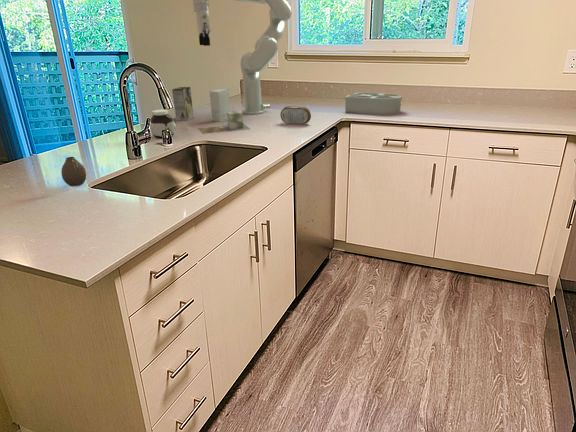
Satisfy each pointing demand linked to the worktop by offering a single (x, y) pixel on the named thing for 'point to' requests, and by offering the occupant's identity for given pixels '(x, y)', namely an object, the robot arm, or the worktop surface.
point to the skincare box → (219, 104)
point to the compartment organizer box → (373, 103)
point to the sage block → (235, 119)
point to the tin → (295, 115)
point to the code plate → (235, 129)
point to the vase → (73, 172)
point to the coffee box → (183, 103)
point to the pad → (210, 130)
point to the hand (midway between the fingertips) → (204, 45)
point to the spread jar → (161, 123)
